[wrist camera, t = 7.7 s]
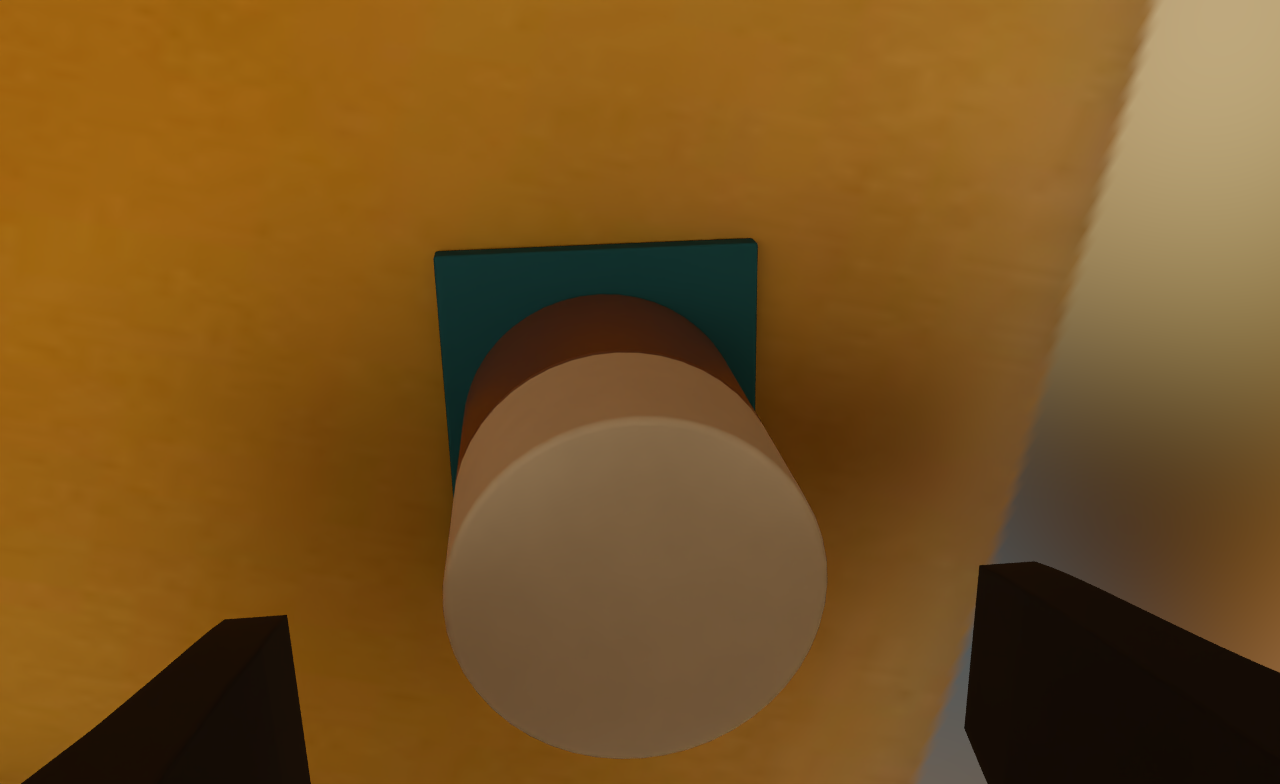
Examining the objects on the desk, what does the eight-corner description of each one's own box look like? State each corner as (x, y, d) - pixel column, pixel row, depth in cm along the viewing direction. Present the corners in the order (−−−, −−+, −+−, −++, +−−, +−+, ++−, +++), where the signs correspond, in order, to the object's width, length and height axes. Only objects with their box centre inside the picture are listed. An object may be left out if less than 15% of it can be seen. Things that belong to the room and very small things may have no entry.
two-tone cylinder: (738, 543, 19) (822, 745, 14) (473, 560, 19) (457, 777, 13) (741, 286, 17) (837, 407, 12) (452, 300, 17) (425, 430, 12)
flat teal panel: (747, 572, 20) (752, 583, 19) (462, 592, 19) (462, 604, 19) (753, 237, 18) (757, 242, 17) (434, 250, 17) (432, 256, 17)
